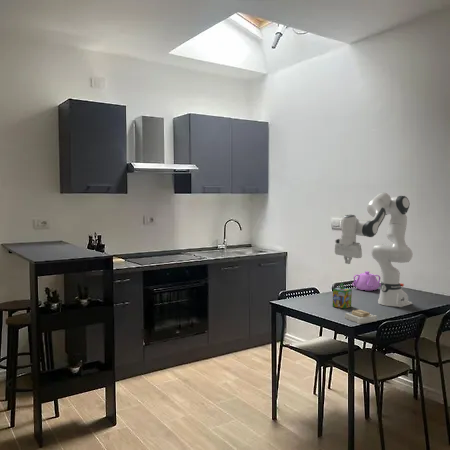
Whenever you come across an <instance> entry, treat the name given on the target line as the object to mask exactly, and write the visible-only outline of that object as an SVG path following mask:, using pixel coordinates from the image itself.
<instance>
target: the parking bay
mask: <svg viewBox="0 0 450 450" xmlns="http://www.w3.org/2000/svg"><path fill="white" fill-rule="evenodd" d="M344 319H346V320H347V321H348V320H349V321H352V322H354V323H357V324H359V325H360V324H367V323H372V322H377V321H378V315H376V314H375V315H374V314H371V313H370V316H367V317H358V316H355V315H352V313H349V312H345V314H344Z"/></svg>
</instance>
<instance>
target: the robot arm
mask: <svg viewBox="0 0 450 450" xmlns="http://www.w3.org/2000/svg"><path fill="white" fill-rule="evenodd" d="M409 208H410V200H409V198H408V197H407V196H405V195H398V196H390V195H389V194H388V193H387V192H380V193H378V194H376V195H375V196H374V197H372V199H371V200H370V201H369V202H368V203H367V206H366V210H367V212H368V214H369V215H370V216H371V217H373V218H372V219H371V220H370V219H369V220H363V219H362V220H361V219H358V218H357V217H356V215H355V214H345V215H344V216H343V217H342V221H341V236H340V237H339V238H337V239H335V240H334V242H335V245H334V254H335V255H336V256H343V259H344V264H347V265H351V263H352V262H351V261H352V259H353V258H354V259H361V258H362V257H363V252H362V251H363V250H362V245H361V244H360V242H357V236H359V237H360V236H361V237H367V238H373V237H374V236H376V235H377V234H378V231H379V228H380V226H381V225H382V223H383V221H384V219H385V217H386V216H388V215H390V220H389V223H388V228H387V232H386V238H387V239H388V240H389V241H390V242H392V243H393V244H384V243H383V244H375V245H373V247H372V249H371V256H372V258H373V259H374V260H375V261H376V262H377V263H378V265H379V267H380V270H381V271H380V272H381V281H380V283H381V286H380V289H379V295H378V296H379V298H378V299H377V303H378V304H379V305H382V306H387V307H396V308H398V307H399V308H403V307H407V306H410V305H413V302H412V301H409V295H408V293H406V292H405V291H404V290H403V289H402V287H404V286H405V284H404V283H402V282H401V283H400V275H401V273H400V270H399V269H397V268H396V267H395V266H393V264H392V263H397V264H398V263H400V264H404V263H409V262H411V260H412V258H413V251H412V249H411V248H410V247H409V246H408V245H407V243H406V240H405V238H406V237H405V235H406V231H407V225H408V224H407V223H408V217H407V213H408V211H409Z"/></svg>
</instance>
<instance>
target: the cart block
mask: <svg viewBox="0 0 450 450" xmlns="http://www.w3.org/2000/svg"><path fill="white" fill-rule="evenodd" d="M351 314H352V315H355V316H358V317H367V316H370V314H371V312H368V311H366V310H362V309H353V310H351Z"/></svg>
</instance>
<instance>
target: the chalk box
mask: <svg viewBox="0 0 450 450" xmlns="http://www.w3.org/2000/svg"><path fill="white" fill-rule="evenodd" d="M352 292H353V291H352V289H351V288H347V287H344V283H339V286H338V287H335V288H333V289H332V307H333V308H339V309H340V308H341V309H345V310H346V309H349V308H351V307H352V295H353V293H352Z"/></svg>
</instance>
